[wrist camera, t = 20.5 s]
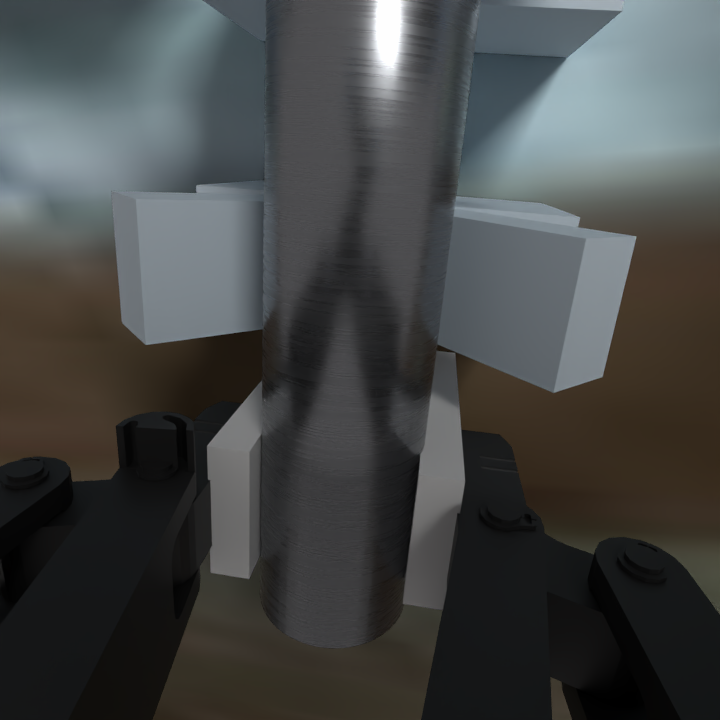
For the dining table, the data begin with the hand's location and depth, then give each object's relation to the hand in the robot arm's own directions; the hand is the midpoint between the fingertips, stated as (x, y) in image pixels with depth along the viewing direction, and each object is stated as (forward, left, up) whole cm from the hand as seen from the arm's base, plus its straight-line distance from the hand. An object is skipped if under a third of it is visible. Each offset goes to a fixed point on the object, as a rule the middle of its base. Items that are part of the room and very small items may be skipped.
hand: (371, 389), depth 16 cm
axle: (-3, -5, +4) cm, 7 cm away
